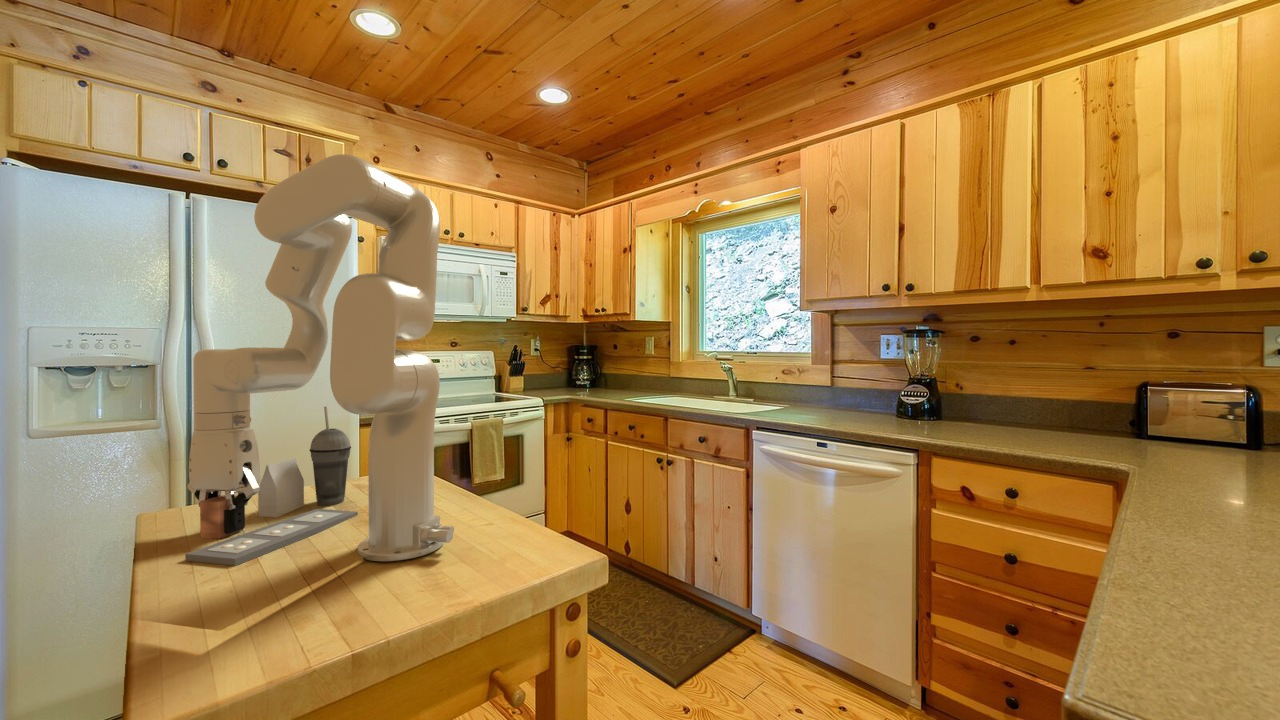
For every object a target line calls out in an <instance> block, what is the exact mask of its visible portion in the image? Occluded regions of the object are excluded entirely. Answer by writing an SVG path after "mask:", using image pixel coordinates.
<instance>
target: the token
mask: <svg viewBox="0 0 1280 720" xmlns="http://www.w3.org/2000/svg"><path fill="white" fill-rule="evenodd" d="M236 496H237V495H234V497H235V498H236ZM226 509H228V508H227V503H226V496H225V494H221V496H217V497H214V498H210V499H206V500H202V501H200V507H199V517H200V518H199V519H200V520H199V522H200V524H199V527H200V530H199V531H200V533H199V534H200V538H207V539H208V538H209V539H222V538H226V537H229V536H232V535H234V534H237V533H239V532H240V533H241V532H242V531H244V529H242V530H239V531H236V532H233V533H230V534H225V533H224V510H226Z"/></svg>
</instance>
